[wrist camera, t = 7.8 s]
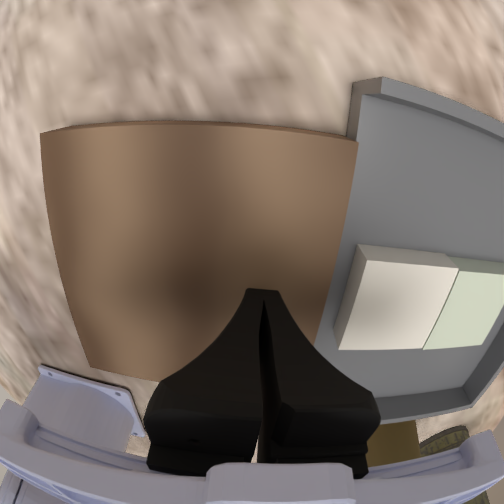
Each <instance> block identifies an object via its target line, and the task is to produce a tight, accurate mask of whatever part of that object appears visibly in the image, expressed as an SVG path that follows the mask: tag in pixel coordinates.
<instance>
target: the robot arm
mask: <svg viewBox="0 0 504 504" xmlns="http://www.w3.org/2000/svg"><path fill="white" fill-rule="evenodd" d="M38 370H39V372H40V374H41V375H40V376H39V378H38V379H37V381H36V383H35V385H34V386H33V388H32V390H31V391H30V393H29V395H28V397H27V398H26V400H25V402H24V404H23V406H21V405H19V404H17V403H15V402H13V401H11V400H9V399H6V401H5V402H4V404H3V406H2V408H1V410H0V463H1V464H2V465H3V466H5V467H6V468H7V469H8V470H7V472H6V474H5V476H4V479H3V481H2V484H1V486H0V504H462V503H464V502H467V501H469V500H471V499H473V498H474V497H476V496H478V495H479V494H481V493H482V492H484V491H485V490H487V489H488V488H490V487H491V486H493V485H494V484H495V483H497V482H498V481H499V480H501V479H502V478H504V461H503V458H502V455H501V453H500V450H499V448H498V446H497V443H496V441H495V438H494V436H493V434H492V431H491V430H487V431H484V432H481V433H478V434H475V435H473V436H471V437H469V438H468V439H466V440H465V441H464V442H463V443H462V444H461V445H460V447H458V448H454V449H451V450H448V451H444V452H441V453H437V454H433V455H429V456H425V457H421V458H417V459H412V460H408V461H403V462H398V463H393V464H387V465H381V466H375V467H368V465H367V460H366V455H365V454H367V453H368V446H367V441H368V440H369V438H370V437H371V436H372V435H373V433H374V432H375V431H376V429H377V428H378V426H379V425H380V423H381V416H380V412H379V408H378V406H377V403H376V401H375V398H374V396H373V394H372V392H371V391H369V390H367V389H366V388H364V387H362V386H361V385H359V384H358V383H356V382H354V381H353V380H351V379H350V378H348V377H347V376H346V375H344V374H343V373H342V372H340V371H339V370H338V369H337V368H335V367H334V366H333V365H332V364H331V363H330V362H329V361H328V360H326V359H325V358H324V357H323V356H322V355H321V354H320V353H319V352H318V351H317V350H316V348H315V347H314V346H313V345H312V344H311V343H310V341H309V340H308V339H307V338H306V336H305V335H304V334H303V332H302V331H301V329H300V328H299V326H298V325H297V323H296V322H295V320H294V319H293V317H292V315H291V314H290V312H289V310H288V308H287V307H286V305H285V303H284V301H283V299H282V296H281V294H280V292H279V291H278V290H267V289H255V288H247V289H246V290H245V294H244V297H243V299H242V301H241V303H240V305H239V307H238V309H237V310H236V312H235V314H234V316H233V317H232V319H231V320H230V321H229V323H228V324H227V326H226V327H225V328H224V330H223V331H222V332H221V333H220V334H219V336H218V337H217V338H216V339H215V340H214V341H213V342H212V343H211V344H210V345H209V346H208V347H207V348H206V349H205V350H204V351H203V352H202V353H201V354H200V355H198V356H197V357H196V358H195V359H193V360H192V361H191V362H189V363H188V364H187V365H185V366H184V367H183V368H181V369H180V370H178V371H177V372H175V373H173V374H172V375H170V376H168V377H167V378H165V379H163V380H161V381H160V383H159V384H158V386H157V388H156V389H155V391H154V393H153V395H152V396H151V399H150V401H149V403H148V406H147V409H146V412H145V415H144V419H143V421H144V426H145V429H146V432H147V434H148V437H149V439H150V442H151V445H150V449H149V453H148V457H147V458H146V457H141V456H137V455H133V454H129V453H125V451H126V448H127V445H128V441H129V438H130V435H135V436H139V437H145V435H146V433H145V430H144V428H143V425H142V423H141V420H140V418H139V415H138V413H137V410H136V408H135V405H134V402H133V399H132V397H131V394H130V392H129V391H128V390H126V389H123V388H119V387H115V386H111V385H107V384H103V383H99V382H95V381H91V380H88V379H84V378H81V377H77V376H74V375H71V374H67V373H64V372H61V371H58V370H55V369H52V368H49V367H46V366H43V365H39V367H38ZM258 435H259V436H258ZM257 439H258V453H257V463H251V460H252V457H253V455H254V451H255V447H256V443H257Z"/></svg>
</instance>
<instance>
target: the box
mask: <svg viewBox="0 0 504 504" xmlns="http://www.w3.org/2000/svg"><path fill="white" fill-rule="evenodd" d="M346 137H347V138H350V139H352V140H355V141H357V142H359V146H358V152H357V159H356V165H355V171H354V176H353V182H352V188H351V193H350V198H349V204H348V209H347V214H346V219H345V223H344V228H343V233H342V237H341V242H340V246H339V251H338V255H337V260H336V264H335V268H334V272H333V276H332V280H331V284H330V288H329V292H328V296H327V300H326V303H325V307H324V311H323V315H322V318H321V322H320V325H319V329H318V332H317V336H316V339H315V343H314V347H315V348H316V350H317V351H318V352H319V353H320V354H321V355H322V356H323V357H324V358H325V359H326V360H328V361H329V362H330V363H331V364H332V365H333V366H334V367H335V368H337V369H338V370H339V371H340V372H342V373H343V374H344V375H346V376H347V377H348V378H350V379H351V380H353V381H354V382H356V383H358V384H359V385H361V386H362V387H364V388H366V389H367V390H369V391H371V392H372V394H373V396H374V398H375V401H376V403H377V406H378V408H379V412H380V416H381V423H380V424H389V423H396V422H403V421H410V420H416V419H422V418H428V417H433V416H438V415H443V414H447V413H452V412H456V411H460V410H464V409H468V408H472V407H473V406H474V405H475V403H476V402H477V401H478V400H479V399H480V397H481V396H482V395H483V394H484V392H485V391H486V390H487V389H488V387H489V386H490V385H491V383H492V382H493V381H494V379H495V378H496V377H497V375H498V374H499V373H500V371H501V370H502V368H503V367H504V305H503V307H502V309H501V311H500V313H499V315H498V317H497V319H496V320H495V322H494V324H493V326H492V328H491V329H490V331H489V333H488V335H487V336H486V338H485V340H484V342H483V343H482V345H474V346H465V347H454V348H442V349H427V350H422V348H416V349H389V350H338V347H337V343H336V339H335V335H334V331H333V329H334V325H335V322H336V319H337V316H338V313H339V309H340V306H341V303H342V299H343V296H344V292H345V289H346V285H347V282H348V278H349V274H350V271H351V267H352V263H353V259H354V255H355V251H356V247H357V244H363V245H373V246H382V247H392V248H401V249H410V250H419V251H427V252H436V253H445V254H446V255H447V256H450V257H459V258H467V259H476V260H484V261H492V262H500V263H504V123H502V122H500V121H498V120H496V119H494V118H492V117H490V116H488V115H486V114H483V113H481V112H479V111H477V110H475V109H473V108H470V107H468V106H466V105H463V104H461V103H459V102H456V101H454V100H451V99H449V98H446V97H444V96H441V95H438V94H436V93H433V92H430V91H427V90H424V89H421V88H418V87H415V86H412V85H409V84H406V83H403V82H399V81H396V80H393V79H389V78H386V77H378V78H372V79H367V80H362V81H358V82H353V86H352V95H351V104H350V112H349V120H348V128H347V135H346Z"/></svg>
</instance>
